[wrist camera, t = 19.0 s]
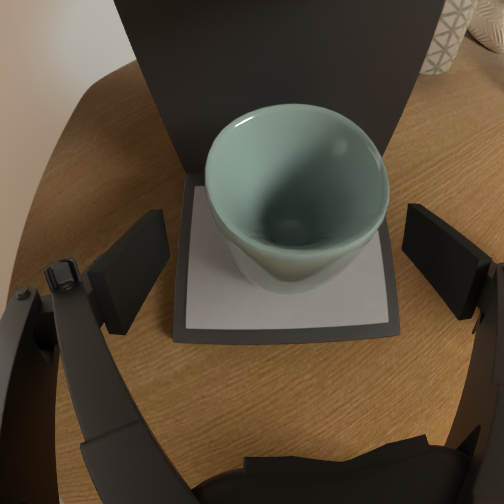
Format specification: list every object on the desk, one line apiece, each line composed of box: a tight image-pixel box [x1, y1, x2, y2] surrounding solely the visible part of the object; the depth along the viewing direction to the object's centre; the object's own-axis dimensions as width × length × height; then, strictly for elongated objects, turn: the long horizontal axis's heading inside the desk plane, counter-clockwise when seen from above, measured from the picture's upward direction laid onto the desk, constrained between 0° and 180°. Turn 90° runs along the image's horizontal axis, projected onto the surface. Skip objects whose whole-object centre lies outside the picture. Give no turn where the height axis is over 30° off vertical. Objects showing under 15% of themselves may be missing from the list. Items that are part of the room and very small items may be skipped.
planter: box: [419, 0, 478, 75], centre depth 23 cm, size 19×19×18 cm
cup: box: [205, 104, 390, 295], centre depth 16 cm, size 8×8×10 cm
